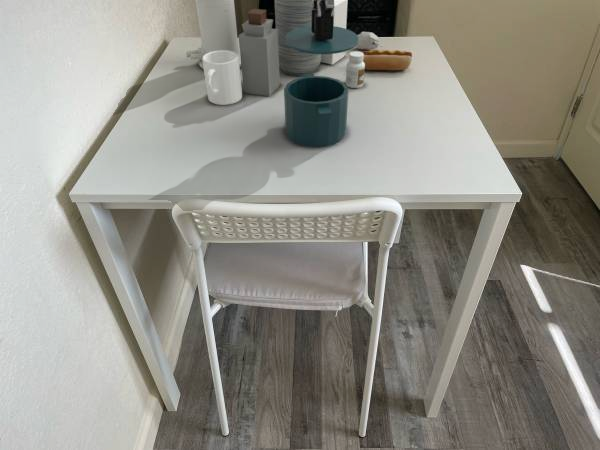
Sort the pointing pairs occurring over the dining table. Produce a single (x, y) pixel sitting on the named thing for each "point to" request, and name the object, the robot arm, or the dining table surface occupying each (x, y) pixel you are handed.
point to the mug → (222, 77)
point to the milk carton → (339, 21)
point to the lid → (321, 41)
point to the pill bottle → (355, 70)
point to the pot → (315, 110)
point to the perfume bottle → (259, 54)
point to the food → (386, 60)
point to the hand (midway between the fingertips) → (321, 34)
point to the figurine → (367, 41)
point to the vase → (289, 16)
